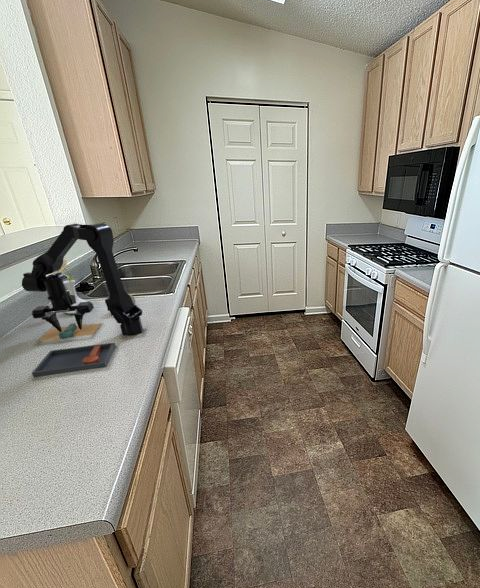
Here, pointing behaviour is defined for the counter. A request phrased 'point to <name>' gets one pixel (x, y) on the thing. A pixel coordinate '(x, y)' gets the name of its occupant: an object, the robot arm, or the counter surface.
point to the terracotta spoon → (93, 356)
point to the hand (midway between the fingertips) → (71, 330)
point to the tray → (72, 360)
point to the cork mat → (83, 332)
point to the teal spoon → (68, 331)
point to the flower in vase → (70, 285)
